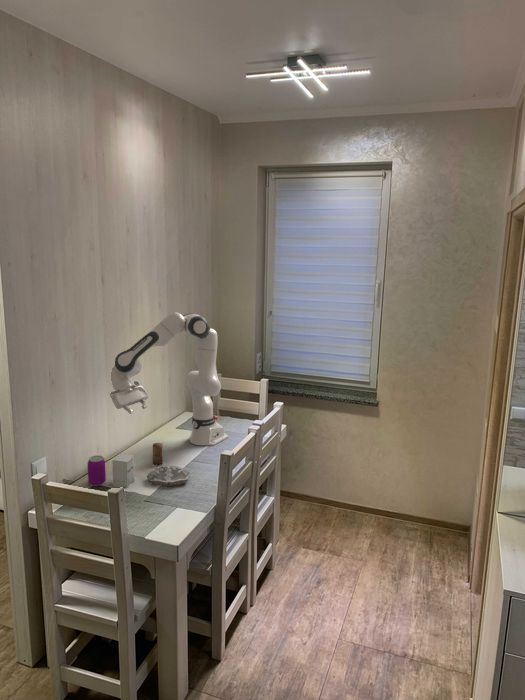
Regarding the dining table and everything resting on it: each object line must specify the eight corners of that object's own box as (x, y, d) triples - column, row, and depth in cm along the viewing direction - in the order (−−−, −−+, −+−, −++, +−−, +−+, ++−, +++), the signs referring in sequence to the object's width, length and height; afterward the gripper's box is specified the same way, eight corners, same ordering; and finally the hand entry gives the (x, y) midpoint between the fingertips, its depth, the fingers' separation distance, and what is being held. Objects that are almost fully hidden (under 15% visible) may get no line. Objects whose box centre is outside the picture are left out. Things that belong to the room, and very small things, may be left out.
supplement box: (127, 488, 229) (126, 462, 227) (112, 486, 231) (111, 460, 228) (134, 480, 236) (134, 455, 234) (119, 478, 238) (119, 453, 235)
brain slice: (188, 470, 249) (188, 465, 249) (190, 487, 233) (190, 481, 232) (147, 472, 246) (147, 466, 245) (146, 489, 229) (145, 483, 229)
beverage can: (109, 481, 235) (108, 456, 233) (97, 488, 228) (96, 463, 226) (96, 477, 238) (95, 453, 236) (84, 484, 231) (83, 459, 229)
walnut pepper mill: (158, 460, 258) (158, 442, 256) (164, 463, 255) (164, 444, 253) (150, 463, 255) (150, 444, 253) (156, 466, 252) (156, 447, 250)
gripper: (111, 389, 249) (126, 412, 246) (141, 380, 266) (155, 402, 263) (105, 396, 252) (119, 419, 249) (135, 387, 269) (149, 408, 266)
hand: (138, 410), depth 256 cm, fingers open, 8 cm apart
